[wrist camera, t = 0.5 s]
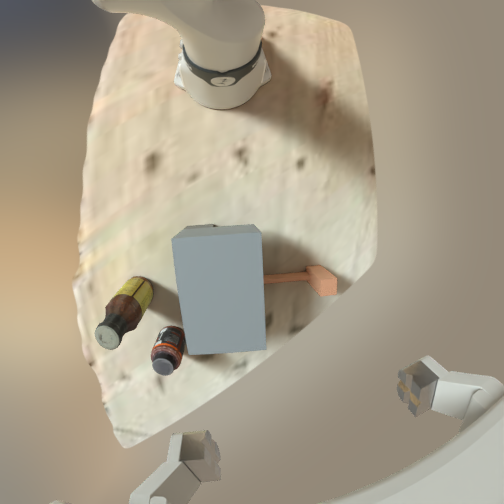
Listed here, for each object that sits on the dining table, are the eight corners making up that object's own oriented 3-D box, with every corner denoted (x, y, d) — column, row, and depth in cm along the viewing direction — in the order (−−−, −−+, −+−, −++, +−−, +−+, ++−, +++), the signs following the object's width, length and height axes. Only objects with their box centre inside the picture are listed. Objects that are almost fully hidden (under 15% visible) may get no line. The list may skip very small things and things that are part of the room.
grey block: (187, 226, 50) (171, 238, 35) (251, 221, 51) (261, 232, 36) (197, 314, 54) (188, 354, 39) (255, 310, 55) (266, 349, 40)
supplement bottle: (156, 325, 53) (143, 353, 42) (184, 324, 54) (175, 353, 43) (162, 348, 55) (151, 379, 44) (188, 348, 55) (181, 379, 44)
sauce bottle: (122, 292, 51) (78, 337, 32) (135, 268, 51) (92, 307, 31) (147, 310, 53) (114, 363, 33) (161, 287, 52) (131, 335, 32)
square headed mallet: (258, 270, 53) (265, 285, 44) (320, 265, 54) (337, 278, 45) (259, 284, 54) (266, 302, 45) (320, 279, 55) (336, 294, 46)
